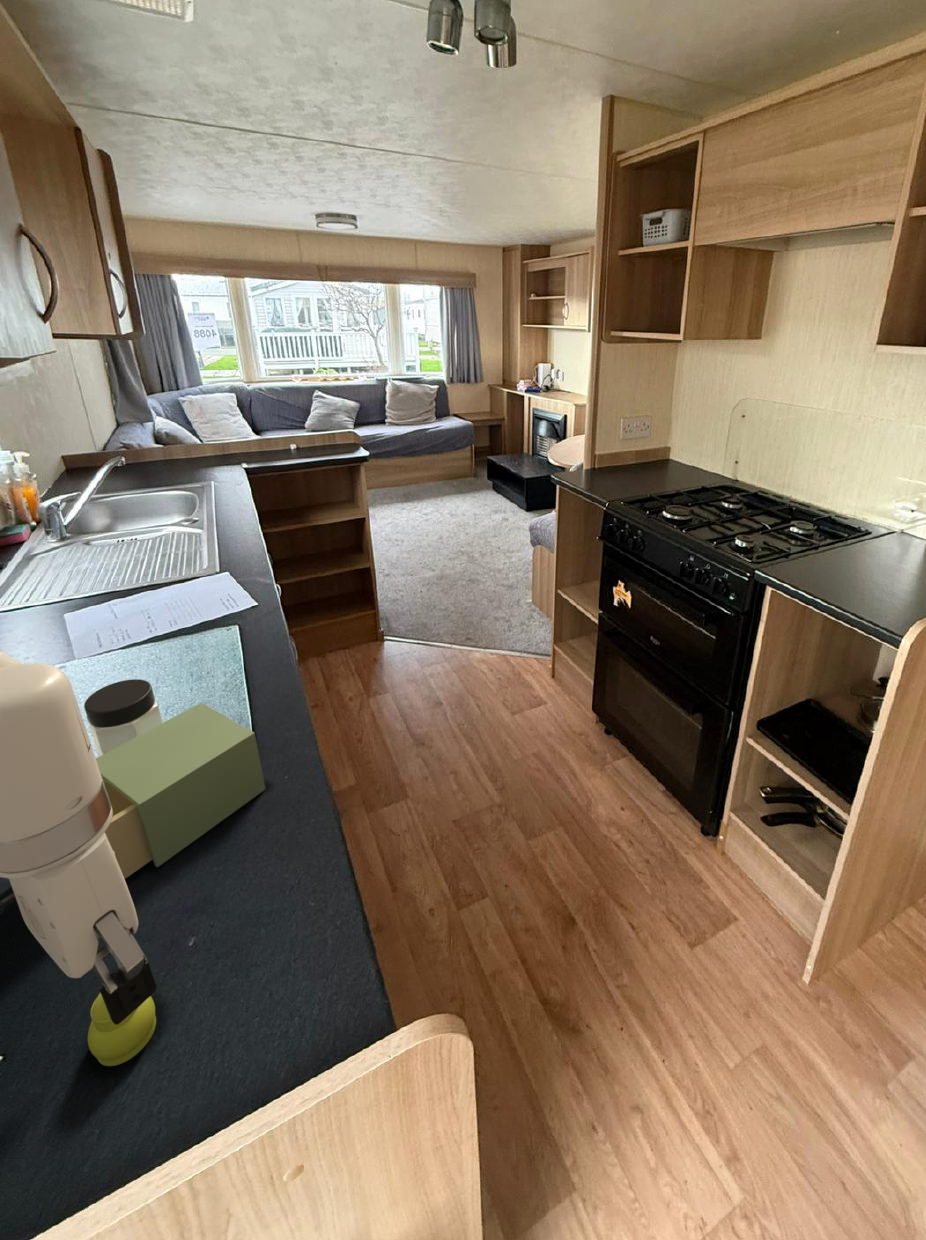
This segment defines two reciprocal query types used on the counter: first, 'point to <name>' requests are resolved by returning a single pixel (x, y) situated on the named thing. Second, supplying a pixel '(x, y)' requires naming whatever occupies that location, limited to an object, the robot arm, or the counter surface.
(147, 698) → the jar
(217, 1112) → the counter surface
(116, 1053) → the pear
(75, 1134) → the counter surface
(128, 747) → the cabinet
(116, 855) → the drawer
